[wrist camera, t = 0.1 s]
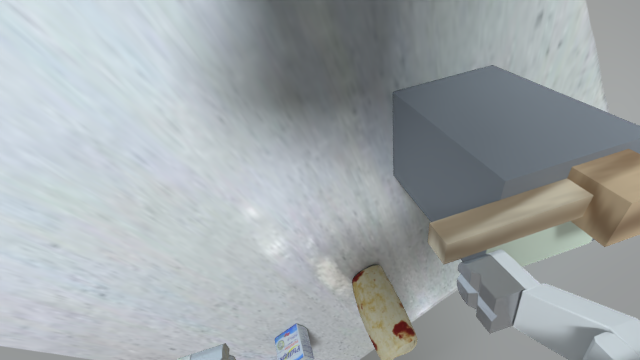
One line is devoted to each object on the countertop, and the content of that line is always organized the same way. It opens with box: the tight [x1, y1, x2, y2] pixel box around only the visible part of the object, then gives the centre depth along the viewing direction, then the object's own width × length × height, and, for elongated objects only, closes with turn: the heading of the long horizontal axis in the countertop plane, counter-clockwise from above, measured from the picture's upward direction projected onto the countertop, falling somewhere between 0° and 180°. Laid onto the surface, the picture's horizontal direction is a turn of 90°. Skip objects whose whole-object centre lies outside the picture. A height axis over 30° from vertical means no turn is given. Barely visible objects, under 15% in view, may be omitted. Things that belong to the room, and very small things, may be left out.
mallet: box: [428, 149, 640, 264], centre depth 31 cm, size 6×23×6 cm, turn 99°
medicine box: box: [275, 324, 314, 360], centre depth 81 cm, size 8×4×9 cm, turn 128°
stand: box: [393, 65, 640, 267], centre depth 47 cm, size 17×18×25 cm
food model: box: [352, 265, 417, 360], centre depth 69 cm, size 10×7×20 cm
